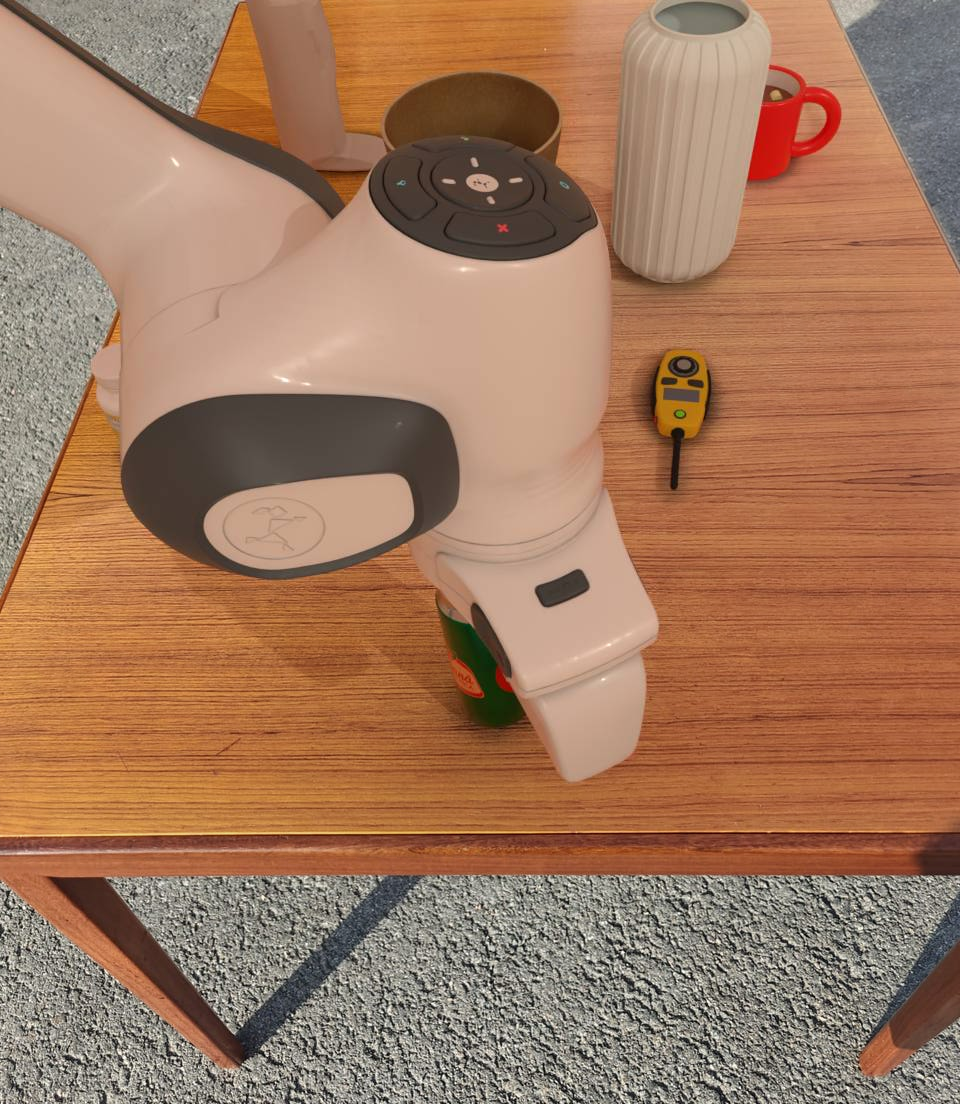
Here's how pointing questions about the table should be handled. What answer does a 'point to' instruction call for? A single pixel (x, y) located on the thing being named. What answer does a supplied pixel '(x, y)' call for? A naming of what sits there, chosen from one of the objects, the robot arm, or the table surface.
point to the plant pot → (476, 111)
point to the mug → (788, 122)
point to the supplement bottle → (108, 383)
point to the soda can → (476, 672)
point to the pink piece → (307, 86)
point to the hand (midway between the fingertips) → (510, 658)
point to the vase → (686, 134)
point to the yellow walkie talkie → (680, 399)
